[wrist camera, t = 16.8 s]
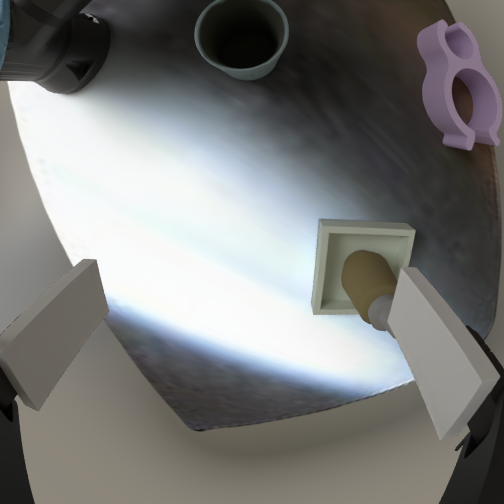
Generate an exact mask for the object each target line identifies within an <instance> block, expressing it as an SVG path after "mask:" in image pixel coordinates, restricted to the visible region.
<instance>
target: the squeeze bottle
mask: <svg viewBox="0 0 504 504" xmlns="http://www.w3.org/2000/svg"><path fill="white" fill-rule="evenodd" d="M341 283H342V287H343V288H344V290H345V292H346V293H347V295H348V297H349V298H350V300H351V301H352V303H353V305H354V306H355V308H356V310H357V311H358V313H359V314H360V316H361V318H362V319H363V320H364V321H365V322H367V323H369V324H372V326H373V327H374V328H375V329H377V330H380V331H386V330H387V331H388V332H389V333H390V334H391V335H392V336H393V337H394V338H395V336H394V334H393V332H392V330H391V328H390V326H389V324H388V322H387V321H388V317H389V314H390V310H391V306H392V302H393V299H394V295H395V291H396V287H397V280H396V278H395V276H394V274H393V272H392V270H391V268H390V266H389V264H388V262H387V260H386V259H385V258H384V257H382V256H381V255H380V254H378V253H374V252H371V251H366V250H358V251H355V252H353V253H352V254H350V255H349V256H348V257H347V259H346V260H345V262H344V266H343V270H342V274H341ZM395 339H396V338H395Z"/></svg>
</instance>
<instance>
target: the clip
mask: <svg viewBox="0 0 504 504" xmlns="http://www.w3.org/2000/svg"><path fill="white" fill-rule="evenodd" d="M417 47H418V50H419V53H420V55H421V57H422V58H423V60H424V61H425V64H426V67H427V74H426V77H425V79H424V82H423V87H422V97H423V103H424V106H425V109H426V112H427V114H428V116H429V118H430V119H431V121H432V122H433V124H434V125H435V126H436V127H437V128H438V129H439V130H440V131H441V132H443V133H444V138H443V144H444V145H445V146H449V147H454V148H460V149H465V150H472V147H473V144H474V142H477V143H482V144H488V145H493V146H499V144H500V140H499V138H498V136H497V131H498V129H499V127H500V124H501V120H502V101H501V96H500V93H499V90H498V88H497V85H496V83H495V82H494V80H493V78H492V77H491V75H490V74H489V73H488V72H487V71H486V69H485V68H484V66H483V64H482V61H481V58H480V50H479V46H478V43H477V41H476V39H475V37H474V35H473V33H472V32H471V31H470V30H469V29H468V27H466V26H465V25H464V24H463V23H462V22H458V23H456V24H453V25H451V26H449V27H448V25H447V23H446V22H445V21H444V20H440V21H438V22H436V23H434V24H433V25H431V26H429V27H427V28H425V29H423V30H422V31H420V33H419V34H418V37H417ZM455 76H457V77H458V78H459V79H461V80H462V81H463V82H464V84H465V85H466V86H467V88H468V90H469V92H470V94H471V97H472V101H473V115H472V118H471V120H470V122H469V123H468V125H466V124H465V123H464V122H463V121H462V120H461V118H460V117H459V115H458V113H457V111H456V109H455V106H454V103H453V99H452V82H453V79H454V77H455Z"/></svg>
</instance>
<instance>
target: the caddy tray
mask: <svg viewBox="0 0 504 504" xmlns="http://www.w3.org/2000/svg"><path fill="white" fill-rule="evenodd" d="M415 231H416V230H415V229H413V228H412V227H411V226H410V225H408V224H407V223H396V222H379V221H359V220H337V219H319V225H318V238H317V250H316V261H315V271H314V281H313V290H312V299H311V305H312V310H313V315H335V314H359V313H358V311H357V310H356V308H355V306H354V305H353V303H352V301H351V300H350V298H349V297H348V295H347V293H346V292H345V290H344V288H343V287H342V283H341V274H342V270H343V266H344V262H345V260H346V259H347V257H348V256H349V255H350V254H352V253H353V252H355V251H358V250H366V251H371V252H374V253H378V254H380V255H381V256H382V257H384V258H385V259H386V260H387V262H388V264H389V266H390V268H391V270H392V272H393V274H394V276H395V278H396V280H397V282H398V278H399V274H400V269H401V267H408V266H409V261H410V257H411V252H412V247H413V242H414V236H415Z"/></svg>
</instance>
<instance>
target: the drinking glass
mask: <svg viewBox="0 0 504 504" xmlns="http://www.w3.org/2000/svg"><path fill="white" fill-rule="evenodd" d="M194 35H195V43H196V46H197V48H198V50H199V52H200V54H201V55H202V56H203V58H204V59H205V60H207V61H208V62H209V63H210V64H212V65H213V66H215V67H217V68H219V69H221V70H222V71H224V72H225V73H227V74H228V75H230V76H231V77H233V78H236V79H239V80H246V81H248V80H256V79H259V78H262V77H264V76H266V75H267V74H269V73H270V72H271V71H272V70H273V68H274V67H275V65H276V63H277V61H278V59H279V57H280V55H281V54H282V52H283V50H284V49H285V47H286V45H287V42H288V38H289V25H288V21H287V18H286V16H285V14H284V12H283V11H282V9H281V8H280V7H279V6H278V5H277V4H276V3H275V2H273V1H272V0H216V1H214V2H213V3H211V4H210V5H209V6H208V7H206V8H205V10H204V11H203V12H202V13H201V15H200V17H199V18H198V20H197V23H196V26H195V34H194Z"/></svg>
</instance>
